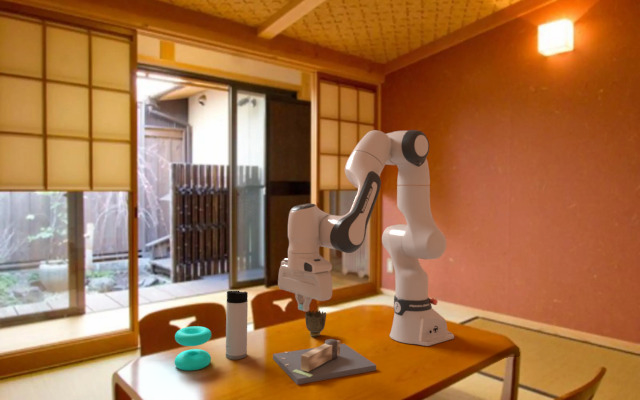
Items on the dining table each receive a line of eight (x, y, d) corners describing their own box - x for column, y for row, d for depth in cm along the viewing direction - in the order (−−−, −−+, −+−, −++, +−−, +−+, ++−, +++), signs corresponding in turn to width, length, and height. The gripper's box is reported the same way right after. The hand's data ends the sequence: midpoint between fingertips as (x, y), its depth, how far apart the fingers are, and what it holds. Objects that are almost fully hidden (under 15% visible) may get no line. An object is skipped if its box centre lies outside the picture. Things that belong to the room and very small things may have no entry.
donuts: (194, 338, 119) (167, 332, 124) (193, 375, 120) (166, 367, 124) (218, 328, 128) (192, 323, 133) (218, 362, 129) (192, 356, 133)
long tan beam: (331, 352, 133) (331, 337, 133) (341, 354, 131) (341, 339, 131) (299, 369, 120) (299, 352, 120) (310, 372, 118) (310, 355, 118)
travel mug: (221, 358, 132) (222, 291, 131) (232, 350, 138) (233, 286, 138) (239, 361, 130) (240, 293, 129) (250, 353, 136) (251, 288, 135)
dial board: (344, 348, 142) (344, 343, 142) (376, 370, 125) (376, 364, 125) (273, 359, 132) (273, 353, 132) (297, 385, 115) (297, 378, 114)
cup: (323, 340, 149) (324, 316, 149) (302, 338, 151) (302, 315, 151) (327, 333, 157) (328, 310, 157) (307, 331, 158) (307, 309, 158)
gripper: (272, 258, 131) (273, 304, 131) (318, 267, 115) (318, 320, 116) (289, 256, 135) (290, 301, 135) (336, 265, 119) (336, 315, 120)
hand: (303, 310), depth 125 cm, fingers closed
